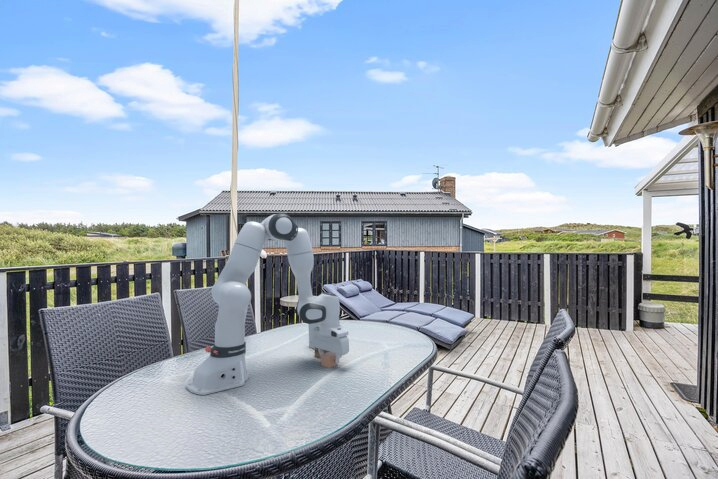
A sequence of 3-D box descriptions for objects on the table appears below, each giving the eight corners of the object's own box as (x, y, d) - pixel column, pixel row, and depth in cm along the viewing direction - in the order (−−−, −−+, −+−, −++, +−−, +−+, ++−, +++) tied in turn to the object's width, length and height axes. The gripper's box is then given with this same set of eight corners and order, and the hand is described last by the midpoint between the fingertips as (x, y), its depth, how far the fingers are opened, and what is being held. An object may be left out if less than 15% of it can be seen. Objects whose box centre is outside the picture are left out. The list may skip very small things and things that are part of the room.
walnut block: (329, 361, 164) (329, 350, 165) (314, 357, 170) (314, 347, 170) (341, 356, 172) (341, 346, 172) (327, 353, 177) (327, 342, 177)
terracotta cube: (329, 368, 155) (329, 356, 155) (321, 365, 159) (321, 354, 159) (337, 365, 159) (337, 354, 159) (329, 362, 162) (329, 351, 162)
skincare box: (327, 348, 184) (327, 319, 184) (317, 351, 179) (318, 321, 179) (317, 345, 190) (317, 316, 190) (307, 347, 185) (308, 318, 186)
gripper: (308, 326, 163) (308, 357, 163) (341, 334, 150) (341, 367, 150) (318, 324, 168) (318, 354, 168) (351, 331, 155) (351, 364, 155)
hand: (329, 360), depth 159 cm, fingers open, 7 cm apart
